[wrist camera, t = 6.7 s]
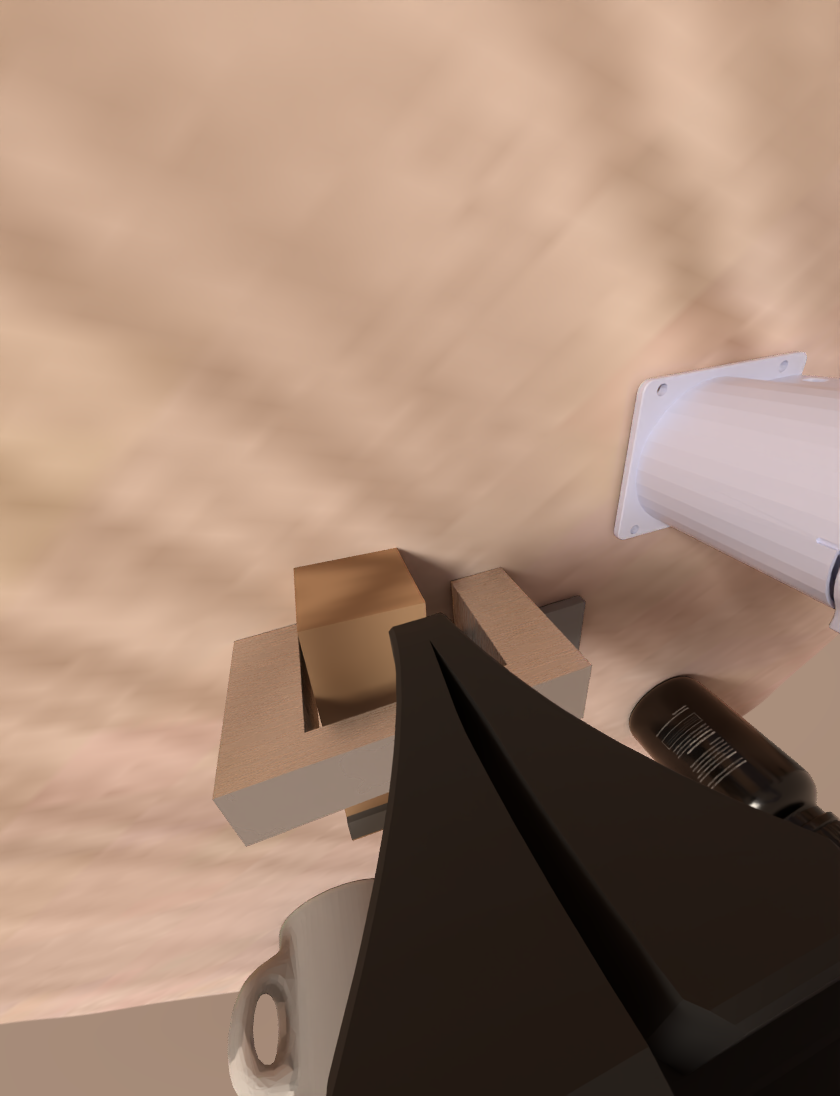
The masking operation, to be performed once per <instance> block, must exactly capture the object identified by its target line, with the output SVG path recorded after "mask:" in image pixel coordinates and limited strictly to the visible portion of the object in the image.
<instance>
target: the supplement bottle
mask: <svg viewBox="0 0 840 1096" xmlns="http://www.w3.org/2000/svg"><path fill="white" fill-rule="evenodd" d="M629 727H630V731H631V733H632V735H633V736H634V737H635V739H636V740H637V741H638V742H639V743H640V744H641V745H642V747H643V748H644V749H645V750H646V751H647V752H648V754H649V755H650V756H651V757H652V758H653V759H654V760H655V761H656V762H658V763H660V764H662V765H664V766H666V767H668V768H670V769H672V770H674V771H675V772H677V773H679V774H681V775H683V776H685V777H688V778H690V779H692V780H694V781H696V782H698V783H700V784H703V785H705V786H707V787H709V788H711V789H713V790H715V791H718V792H720V793H722V794H724V795H726V796H728V797H731V798H733V799H735V800H737V801H740V802H742V803H744V804H747V805H749V806H752V807H754V808H756V809H759V810H761V811H764V812H766V813H769V814H771V815H773V816H776V817H778V818H781V819H783V820H786V821H788V822H790V823H793V824H795V825H798V826H800V827H803V828H805V829H807V830H810V831H812V832H815V833H817V834H820V835H822V836H824V837H827V838H829V839H830V840H831V841H832V842H833V843H834V844H836V845H837V846H838V847H839V848H840V819H839V818H838V817H837V816H836V815H834V814H833V813H832V812H826V813H825V812H824V811H823V810H822V809H820V808H819V807H818V806H817V804H816V801H817V790H816V785H815V783H814V781H813V779H812V777H811V776H810V774H809V773H808V772H807V771H806V770H805V769H804V768H802V767H801V766H800V765H799V764H798V763H797V762H795V761H794V760H793V759H792V758H791V757H789V756H788V755H787V754H786V753H785V752H783V751H782V750H781V749H780V748H779V747H777V746H776V745H775V744H774V743H773V742H771V741H770V740H769V739H768V738H766V737H765V736H764V735H763V734H762V733H760V732H759V731H758V730H757V729H756V728H754V727H753V726H752V725H751V724H750V723H748V722H747V721H746V720H745V719H744V718H742V717H741V716H740V715H739V714H738V713H736V712H735V711H734V710H733V709H732V708H730V707H729V706H728V705H727V704H726V703H724V702H723V701H722V700H721V699H719V698H718V697H717V696H716V695H715V694H713V693H712V692H711V691H710V690H708V689H707V688H706V687H705V686H704V685H702V684H701V683H700V682H698V681H697V680H695V679H693V678H690V677H676V678H672V679H670V680H667V681H665V682H663V683H661V684H660V685H658V686H657V687H655V688H654V689H652V690H651V691H650V692H649V693H648V694H646V695H645V696H644V697H643V698H642V699H641V701H640V702H639V703H638V704H637V705H636V707H635V708H634V710H633V712H632V714H631V716H630V720H629Z"/></svg>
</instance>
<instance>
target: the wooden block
mask: <svg viewBox="0 0 840 1096" xmlns="http://www.w3.org/2000/svg"><path fill="white" fill-rule="evenodd" d="M294 584H295V602H296V621H297V634H298V637H299V641H300V645H301V648H302V652H303V656H304V660H305V663H306V667H307V671H308V675H309V678H310V682H311V686H312V689H313V693H314V697H315V701H316V704H317V708H318V712H319V716H320V719H321V723H322V727H323V726H326V725H329V724H332V723H335V722H338V721H341V720H344V719H347V718H350V717H353V716H356V715H359V714H362V713H365V712H368V711H371V710H374V709H377V708H380V707H383V706H386V705H389V704H392V703H395V702H396V669H395V663H394V658H393V652H392V647H391V642H390V637H389V630H390V629H391V628H392V627H393V626H397V625H400V624H404V623H407V622H411V621H414V620H418V619H421V618H425V617H426V603H425V601H424V599H423V597H422V595H421V593H420V591H419V589H418V587H417V586H416V584H415V582H414V580H413V578H412V576H411V574H410V572H409V570H408V568H407V567H406V565H405V563H404V561H403V559H402V557H401V555H400V553H399V551H398V550H397V548H393V549H388V550H383V551H378V552H373V553H368V554H363V555H358V556H353V557H348V558H343V559H337V560H332V561H327V562H322V563H317V564H312V565H307V566H302V567H297V568H294ZM388 796H389V792H388V793H385V794H383V795H380V796H377V797H375V798H372V799H370V800H367V801H364V802H362V803H359V804H356V805H354V806H351V807H349V808H346V809H345V812H346V816H347V823H348V827H349V831H350V834H351V838H352V840H353V841H354V840H356V839H359V838H362V837H365V836H367V835H370V834H373V833H376V832H378V831H381V830H383V828H384V822H385V815H386V809H387V803H388Z"/></svg>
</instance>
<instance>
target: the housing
mask: <svg viewBox="0 0 840 1096" xmlns="http://www.w3.org/2000/svg"><path fill="white" fill-rule="evenodd" d="M451 592H452V605H453V617H454V624H455V625H456V626H457V627H458V628H459V629H460V630H461V631H462V632H464V633H465V634H466V635H467V636H468V637H469V638H470V639H471V640H473V641H474V642H475V643H476V644H477V645H478V646H479V647H481V648H482V649H483V650H484V651H485V652H487V653H488V654H489V655H490V656H491V657H493V658H494V659H495V660H496V661H498V662H499V663H500V664H501V665H503V666H504V667H505V668H507V669H508V670H509V671H510V672H512V673H513V674H514V675H516V676H517V677H518V678H520V679H521V680H522V681H524V682H525V683H526V684H528V685H529V686H531V687H532V688H533V689H535V690H536V691H538V692H539V693H540V694H542V695H543V696H545V697H546V698H548V699H549V700H551V701H552V702H554V703H555V704H557V705H558V706H560V707H561V708H563V709H564V710H566V711H567V712H569V713H570V714H572V715H574V716H575V717H577V718H579V719H581V718H583V716H584V710H585V704H586V698H587V692H588V686H589V680H590V674H591V668H592V665H591V664H590V663H589V661H588V660H587V659H586V658H585V657H584V656H583V655H582V654H581V653H580V652H579V651H578V650H577V649H576V648H575V646H574V645H573V644H572V643H571V642H570V641H569V640H568V639H567V638H566V637H565V636H564V635H563V634H562V632H561V631H560V630H559V629H558V628H557V627H556V626H555V625H554V624H553V623H552V622H551V621H550V620H549V618H548V617H547V616H546V615H545V614H544V613H543V612H542V611H541V610H540V609H539V608H538V607H537V606H536V605H535V603H534V602H533V601H532V600H531V599H530V598H529V597H528V596H527V595H526V594H525V593H524V592H523V591H522V589H521V588H520V587H519V586H518V585H517V584H516V583H515V582H514V581H513V580H512V579H511V578H510V577H509V576H508V574H507V573H506V572H505V571H504V570H503V569H502V568H497V569H493V570H490V571H486V572H483V573H479V574H475V575H472V576H468V577H465V578H461V579H457V580H454V581H451ZM395 720H396V702H395V703H392V704H389V705H386V706H383V707H380V708H377V709H374V710H371V711H368V712H365V713H362V714H359V715H356V716H353V717H350V718H347V719H344V720H341V721H338V722H335V723H332V724H329V725H326V726H323V727H320V728H319V720H318V710H317V704H316V701H315V697H314V693H313V689H312V686H311V682H310V678H309V675H308V671H307V667H306V663H305V660H304V656H303V652H302V648H301V645H300V641H299V637H298V634H297V624H296V625H292V626H289V627H285V628H281V629H278V630H274V631H271V632H267V633H263V634H260V635H256V636H253V637H249V638H245V639H242V640H238V641H235V642H234V646H233V653H232V660H231V668H230V675H229V682H228V690H227V697H226V704H225V711H224V719H223V726H222V733H221V741H220V748H219V755H218V762H217V770H216V777H215V784H214V792H213V799H212V800H213V801H214V802H215V804H216V805H217V807H218V808H219V809H220V811H221V812H222V814H223V815H224V816H225V818H226V819H227V821H228V822H229V823H230V825H231V826H232V828H233V829H234V830H235V832H236V833H237V835H238V836H239V837H240V839H241V840H242V842H243V843H244V844H245V846H246V847H247V846H249V845H252V844H255V843H257V842H260V841H263V840H265V839H268V838H270V837H273V836H276V835H278V834H281V833H283V832H286V831H289V830H291V829H294V828H296V827H299V826H302V825H304V824H307V823H309V822H312V821H315V820H317V819H320V818H323V817H325V816H328V815H330V814H333V813H336V812H338V811H341V810H343V809H346V808H349V807H351V806H354V805H356V804H359V803H362V802H364V801H367V800H370V799H372V798H375V797H377V796H380V795H383V794H385V793H388V792H389V788H390V780H391V771H392V762H393V751H394V738H395Z"/></svg>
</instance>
